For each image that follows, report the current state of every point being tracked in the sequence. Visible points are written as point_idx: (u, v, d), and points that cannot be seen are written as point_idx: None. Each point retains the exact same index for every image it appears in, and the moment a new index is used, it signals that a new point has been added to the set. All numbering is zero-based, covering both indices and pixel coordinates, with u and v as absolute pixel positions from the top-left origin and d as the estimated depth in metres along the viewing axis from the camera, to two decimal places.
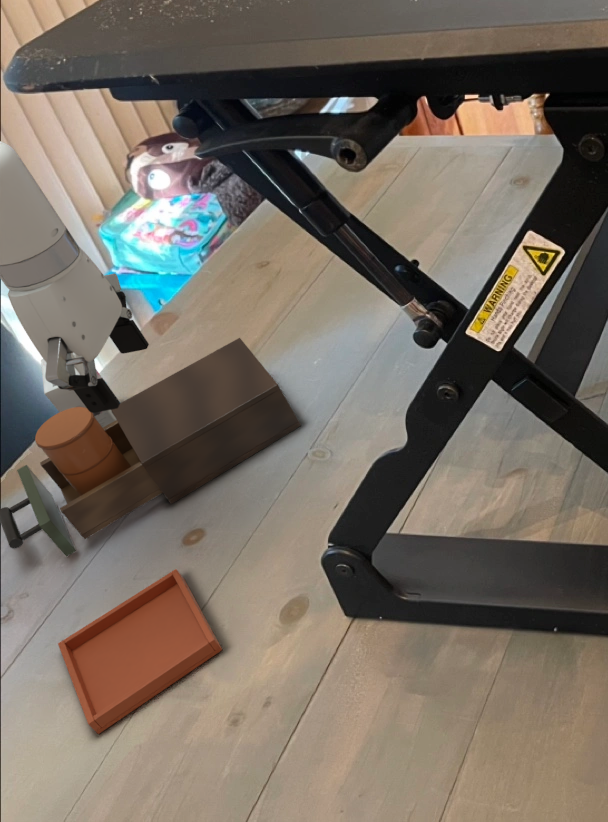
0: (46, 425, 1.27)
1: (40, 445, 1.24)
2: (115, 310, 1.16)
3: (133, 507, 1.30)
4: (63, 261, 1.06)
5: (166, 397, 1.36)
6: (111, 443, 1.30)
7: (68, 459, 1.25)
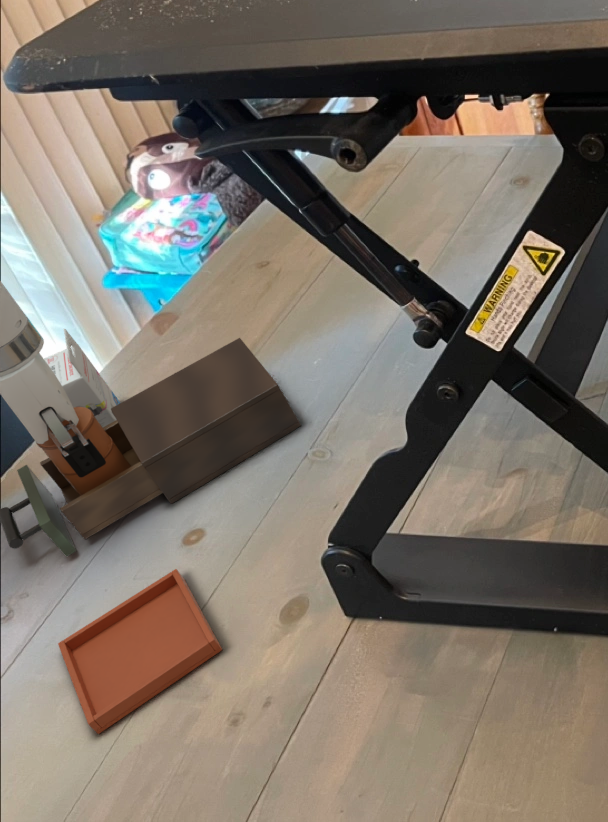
0: None
1: (40, 445, 1.24)
2: None
3: (133, 507, 1.30)
4: (36, 338, 1.19)
5: (166, 397, 1.36)
6: (111, 443, 1.30)
7: None
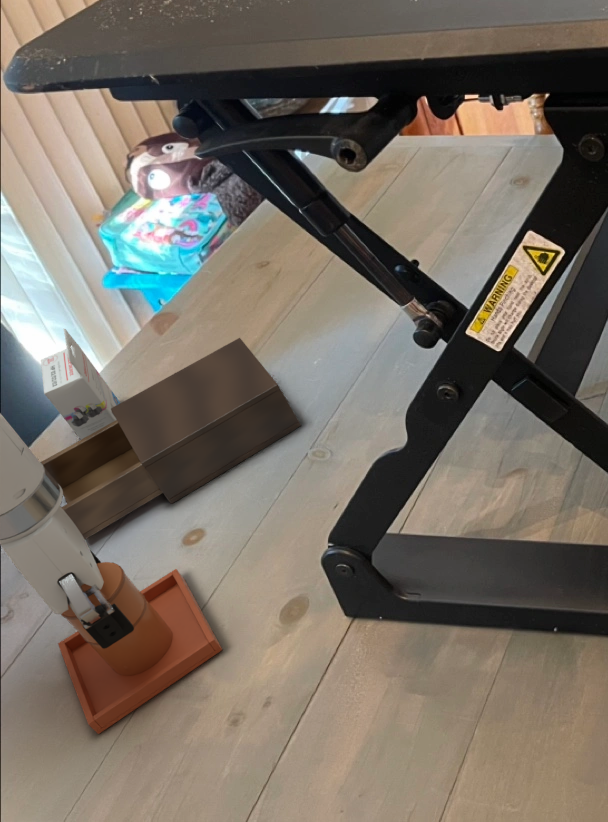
0: None
1: (62, 614, 1.06)
2: None
3: (133, 507, 1.30)
4: (54, 491, 1.00)
5: (166, 397, 1.36)
6: (144, 603, 1.11)
7: None
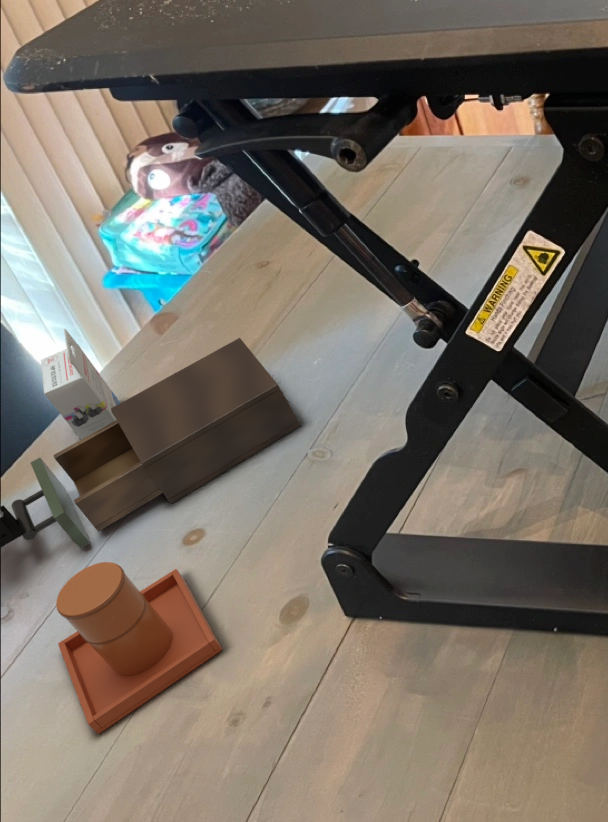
0: (69, 586, 1.08)
1: (62, 614, 1.06)
2: None
3: (146, 499, 1.31)
4: None
5: (166, 397, 1.36)
6: (144, 603, 1.11)
7: (95, 628, 1.07)
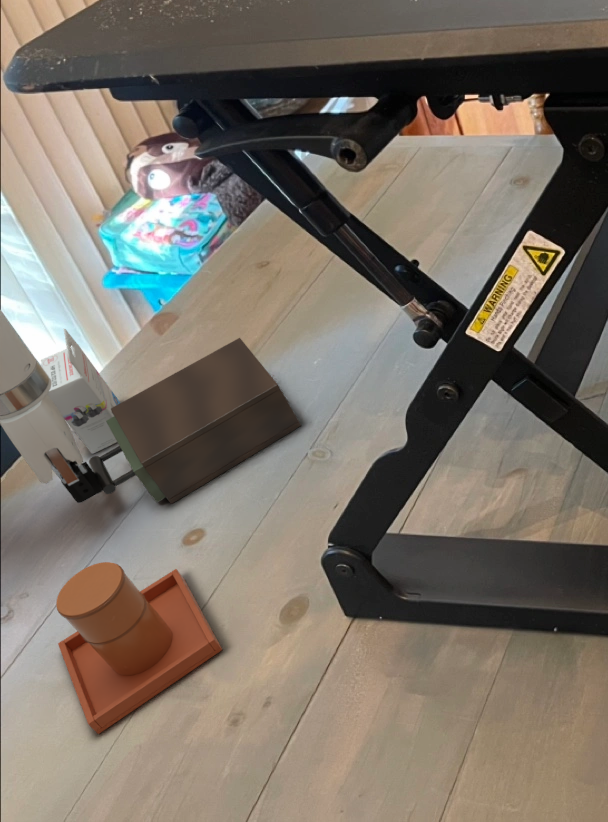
0: (69, 586, 1.08)
1: (62, 614, 1.06)
2: None
3: None
4: (44, 380, 1.21)
5: (166, 397, 1.36)
6: (144, 603, 1.11)
7: (95, 628, 1.07)
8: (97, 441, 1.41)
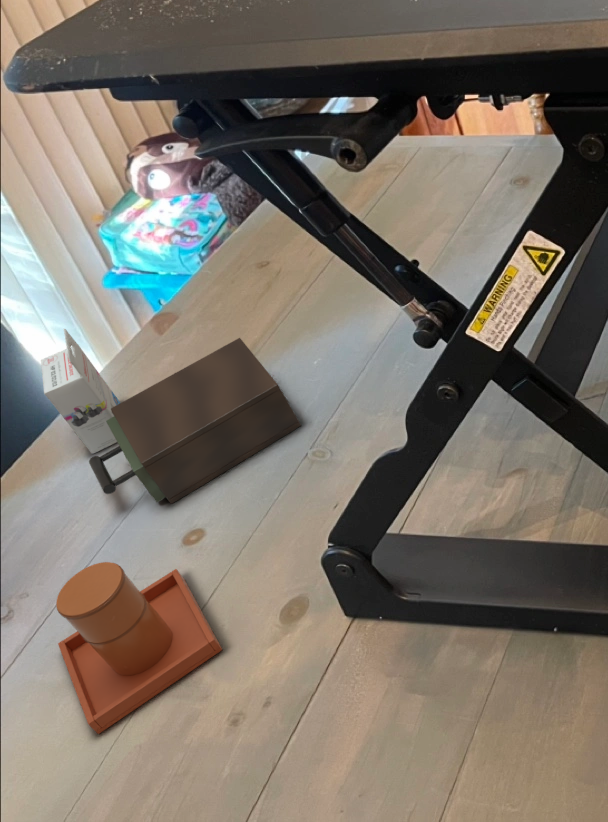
0: (69, 586, 1.08)
1: (62, 614, 1.06)
2: None
3: None
4: None
5: (166, 397, 1.36)
6: (144, 603, 1.11)
7: (95, 628, 1.07)
8: (97, 441, 1.41)
